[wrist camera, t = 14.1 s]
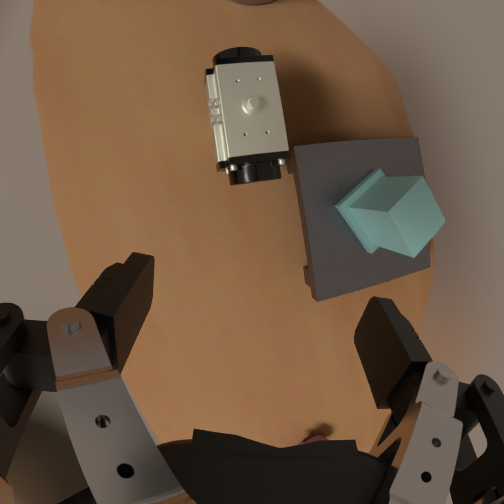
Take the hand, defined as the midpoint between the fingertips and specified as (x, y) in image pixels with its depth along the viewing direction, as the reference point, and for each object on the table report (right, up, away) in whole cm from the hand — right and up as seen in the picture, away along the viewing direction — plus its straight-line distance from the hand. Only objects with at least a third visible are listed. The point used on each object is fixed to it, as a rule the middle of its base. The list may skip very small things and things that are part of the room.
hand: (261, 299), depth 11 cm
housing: (+12, +6, +20) cm, 24 cm away
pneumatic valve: (-3, +15, +21) cm, 26 cm away
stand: (+12, +7, +25) cm, 28 cm away
